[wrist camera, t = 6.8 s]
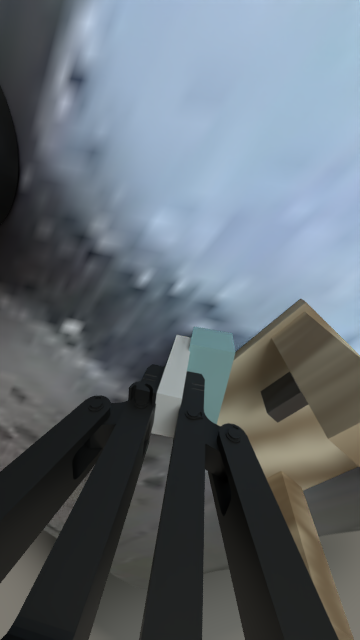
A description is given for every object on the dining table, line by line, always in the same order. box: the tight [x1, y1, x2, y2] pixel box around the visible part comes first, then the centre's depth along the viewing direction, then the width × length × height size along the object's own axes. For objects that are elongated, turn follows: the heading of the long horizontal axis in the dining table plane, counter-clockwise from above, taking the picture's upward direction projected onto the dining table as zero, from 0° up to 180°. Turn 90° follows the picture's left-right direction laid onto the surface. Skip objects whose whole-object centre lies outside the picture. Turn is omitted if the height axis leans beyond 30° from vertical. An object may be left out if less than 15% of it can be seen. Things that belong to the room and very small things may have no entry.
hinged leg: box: [187, 327, 235, 424], centre depth 17 cm, size 11×3×4 cm, turn 172°
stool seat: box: [217, 299, 360, 640], centre depth 16 cm, size 16×16×10 cm
